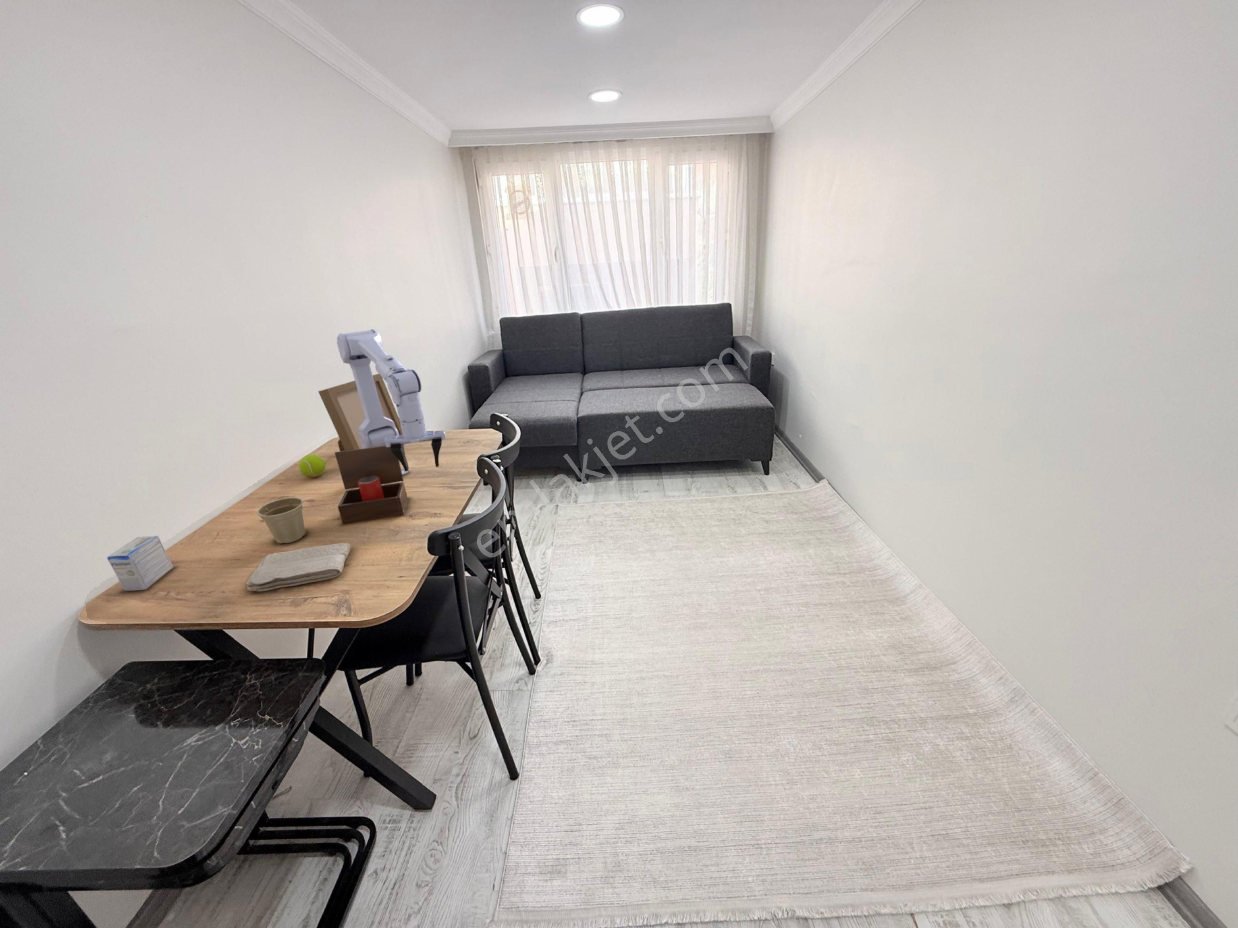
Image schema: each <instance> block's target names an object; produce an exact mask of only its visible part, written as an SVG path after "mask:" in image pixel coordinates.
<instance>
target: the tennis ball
mask: <svg viewBox="0 0 1238 928" xmlns="http://www.w3.org/2000/svg"><path fill="white" fill-rule="evenodd" d="M326 465H327V464H326V462H325V460H324V459H323V458H322V457H321V456H319V455H318V454H308V455H305V456H304V457H302V458H301V459H300V461H299V463H298V470H299V471H300V473H301V474H302V475H304V476H305V477H308V478H317V477H319V476H321V475H322V474H323V473H325V471H326Z"/></svg>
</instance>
